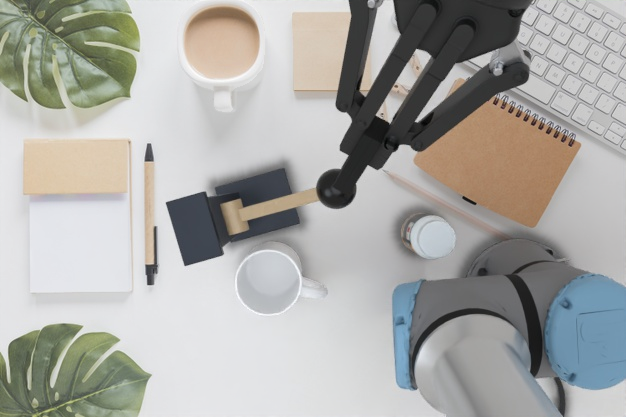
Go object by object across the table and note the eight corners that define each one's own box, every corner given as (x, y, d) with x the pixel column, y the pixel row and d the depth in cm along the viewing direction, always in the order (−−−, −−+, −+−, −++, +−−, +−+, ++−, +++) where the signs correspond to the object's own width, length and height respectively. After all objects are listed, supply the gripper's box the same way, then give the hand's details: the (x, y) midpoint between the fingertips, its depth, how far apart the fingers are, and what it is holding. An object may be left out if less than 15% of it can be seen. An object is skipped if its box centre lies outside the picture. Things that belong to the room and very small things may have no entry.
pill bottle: (397, 249, 77) (410, 258, 68) (404, 209, 77) (418, 213, 67) (436, 255, 78) (455, 266, 68) (443, 215, 77) (464, 220, 67)
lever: (353, 162, 49) (346, 164, 46) (364, 201, 50) (358, 205, 46) (227, 199, 53) (211, 203, 49) (237, 234, 53) (223, 241, 49)
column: (239, 187, 75) (204, 191, 49) (251, 229, 76) (222, 255, 49) (214, 195, 75) (165, 202, 49) (226, 236, 76) (184, 266, 49)
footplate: (284, 167, 77) (284, 167, 75) (300, 222, 77) (299, 223, 76) (215, 187, 77) (214, 187, 75) (231, 242, 77) (230, 243, 76)
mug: (334, 258, 77) (339, 270, 67) (316, 313, 78) (318, 334, 67) (254, 232, 77) (246, 240, 67) (236, 288, 77) (225, 304, 67)
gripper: (617, -59, 32) (420, 187, 49) (419, -170, 31) (292, 119, 49) (624, -5, 27) (403, 248, 44) (388, -136, 26) (259, 173, 44)
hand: (345, 180), depth 46 cm, fingers closed
